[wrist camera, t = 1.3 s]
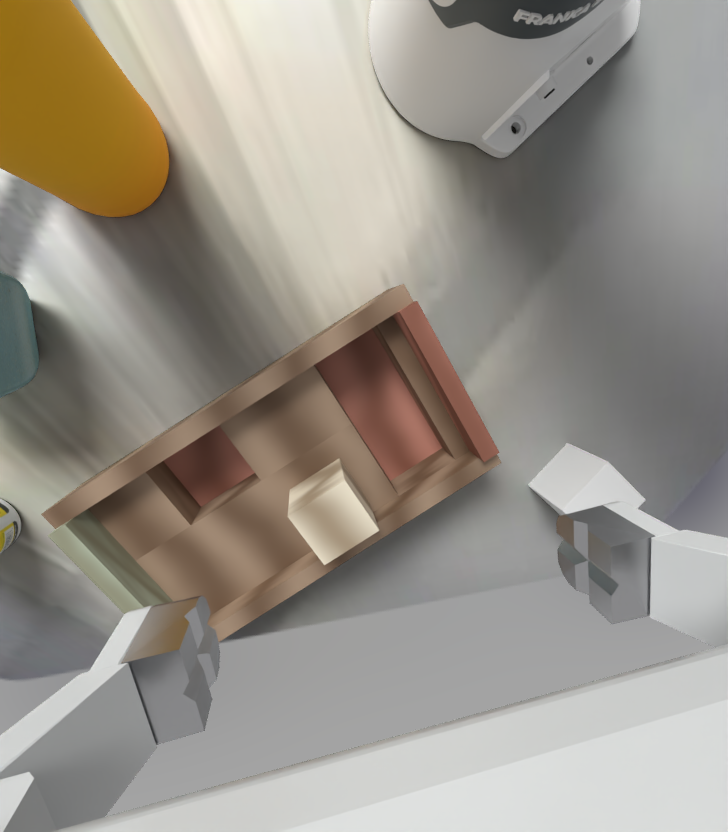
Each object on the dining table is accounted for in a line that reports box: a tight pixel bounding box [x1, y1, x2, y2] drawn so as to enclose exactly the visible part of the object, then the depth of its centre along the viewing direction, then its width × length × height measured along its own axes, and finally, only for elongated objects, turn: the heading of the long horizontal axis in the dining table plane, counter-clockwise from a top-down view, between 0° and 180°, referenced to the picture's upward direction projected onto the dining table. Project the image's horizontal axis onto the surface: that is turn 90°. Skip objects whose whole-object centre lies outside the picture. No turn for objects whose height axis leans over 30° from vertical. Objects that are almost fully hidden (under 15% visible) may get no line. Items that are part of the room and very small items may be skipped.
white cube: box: [528, 443, 645, 515], centre depth 41 cm, size 6×6×6 cm
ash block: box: [288, 459, 379, 565], centre depth 33 cm, size 5×5×5 cm
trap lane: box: [41, 284, 501, 642], centre depth 35 cm, size 32×17×7 cm, turn 121°
